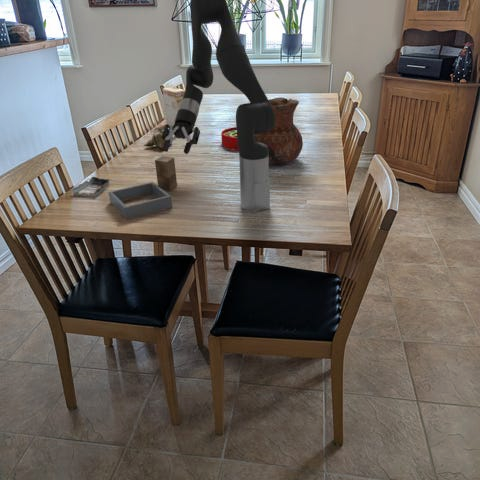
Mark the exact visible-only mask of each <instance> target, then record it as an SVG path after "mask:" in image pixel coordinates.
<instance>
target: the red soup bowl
mask: <svg viewBox="0 0 480 480" xmlns="http://www.w3.org/2000/svg"><path fill="white" fill-rule="evenodd" d="M221 146H222V147H223V146H224V147H223V148H225V147H226V149H228V148H229V149H228V150H233V149H235V151H239V148H238V141H237V128H236V126H234V127H228V128H225V129H223V130H222V131H221Z"/></svg>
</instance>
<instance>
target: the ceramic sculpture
mask: <svg viewBox="0 0 480 480" xmlns="http://www.w3.org/2000/svg"><path fill="white" fill-rule="evenodd" d="M163 131H164V129H163V128H158V130H157V131H156V132H154V133H153V134H152V138H150V139H148V141H147V142H146V143H145V144H143V146H144V147H148V148H151V147H152V148H153V147H154V146H155V147H157V148H160V149H163V146H164V143H165V141H164V140H163V139H162V138H161V137H162V134H163ZM173 141H174V140H173ZM173 141H172V142H171V143H170V145H171V144H172V143H173Z"/></svg>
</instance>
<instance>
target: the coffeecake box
mask: <svg viewBox="0 0 480 480" xmlns="http://www.w3.org/2000/svg"><path fill="white" fill-rule="evenodd" d="M184 93H185V89H181V88H177V87H172V86H171V87H166V88H165V87H164V88H162V96H163V97H162V98H163V107H164V115H165V123H166V124H165V125H167V124H168V125H169V126H173V125H174V124H175V118H176V115H177V112H178V109H179V106H180V104H181V102H182V99H183V96H184Z"/></svg>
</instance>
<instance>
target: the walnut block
mask: <svg viewBox="0 0 480 480" xmlns="http://www.w3.org/2000/svg"><path fill="white" fill-rule="evenodd" d="M154 162H155V163H154V164H155V171H156V173H155V174H156V178H157V179H156V181H157V186H159V187H160V188H161V189H163V190H164V191H167V192H171V191H172V190H174V189H175V188H177V187H178V182H177V173H176V172H177V171H176V163H175V162H176V161H175V157H173V156H172V157H171V156H163V155H161V156H160V157H158V158H157V159H155V160H154Z"/></svg>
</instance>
